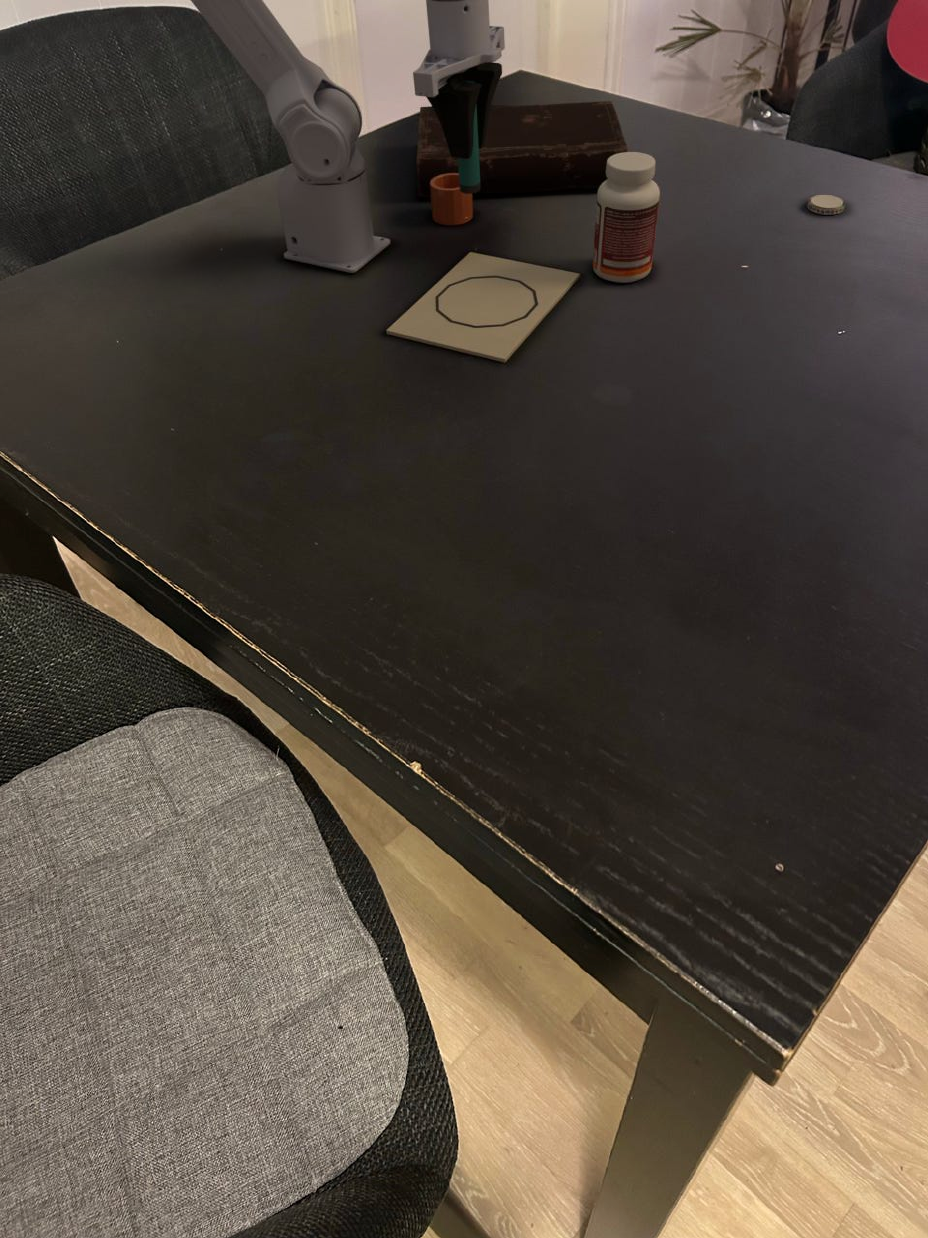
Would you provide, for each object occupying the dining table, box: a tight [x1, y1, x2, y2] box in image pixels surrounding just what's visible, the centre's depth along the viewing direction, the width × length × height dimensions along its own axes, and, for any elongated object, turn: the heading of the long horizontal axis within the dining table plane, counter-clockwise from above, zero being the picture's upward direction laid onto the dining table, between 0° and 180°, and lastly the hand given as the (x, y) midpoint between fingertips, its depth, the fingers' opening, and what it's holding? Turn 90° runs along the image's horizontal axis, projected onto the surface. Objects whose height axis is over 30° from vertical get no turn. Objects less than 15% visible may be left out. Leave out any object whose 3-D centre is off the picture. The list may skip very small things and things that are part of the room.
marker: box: [458, 80, 481, 195], centre depth 89 cm, size 2×2×10 cm
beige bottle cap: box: [806, 194, 846, 215], centre depth 100 cm, size 4×4×1 cm
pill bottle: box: [592, 151, 661, 284], centre depth 89 cm, size 6×6×11 cm
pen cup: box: [430, 173, 474, 226], centre depth 102 cm, size 5×5×4 cm
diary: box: [415, 100, 629, 198], centre depth 111 cm, size 19×25×5 cm
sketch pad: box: [386, 251, 581, 364], centre depth 89 cm, size 13×18×1 cm
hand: (467, 151), depth 90 cm, fingers closed on marker, 2 cm apart
